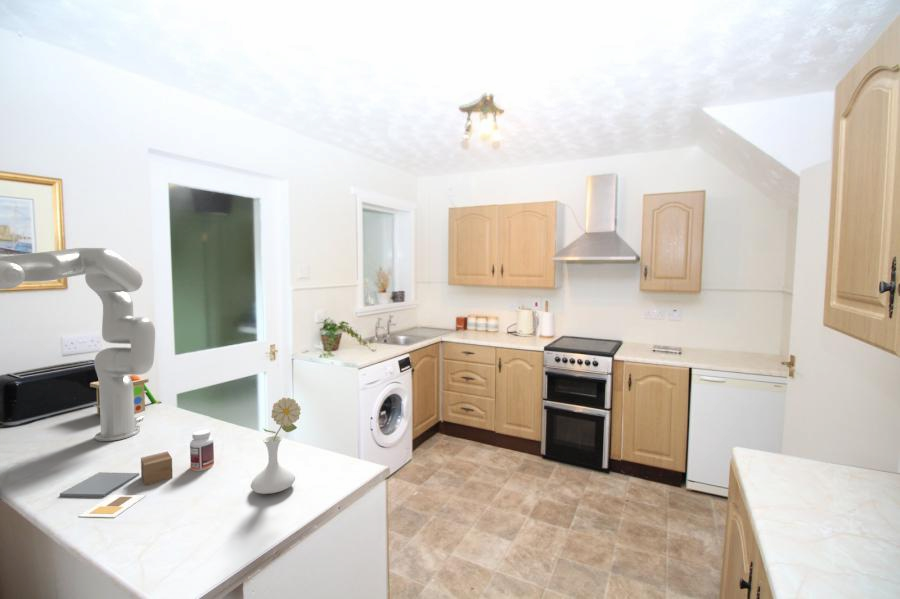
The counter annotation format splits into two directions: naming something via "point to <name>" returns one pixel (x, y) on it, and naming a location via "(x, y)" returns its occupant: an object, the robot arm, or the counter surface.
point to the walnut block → (156, 468)
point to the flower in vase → (274, 474)
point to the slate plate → (99, 485)
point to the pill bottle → (201, 450)
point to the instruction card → (112, 506)
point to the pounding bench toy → (138, 394)
